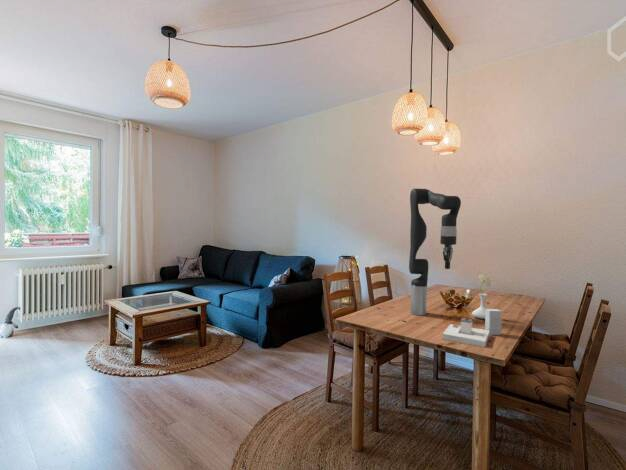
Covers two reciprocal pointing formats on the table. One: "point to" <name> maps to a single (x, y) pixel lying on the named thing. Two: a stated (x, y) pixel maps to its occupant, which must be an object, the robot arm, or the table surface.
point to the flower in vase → (482, 299)
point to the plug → (466, 326)
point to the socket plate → (466, 336)
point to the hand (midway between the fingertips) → (447, 268)
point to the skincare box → (493, 321)
